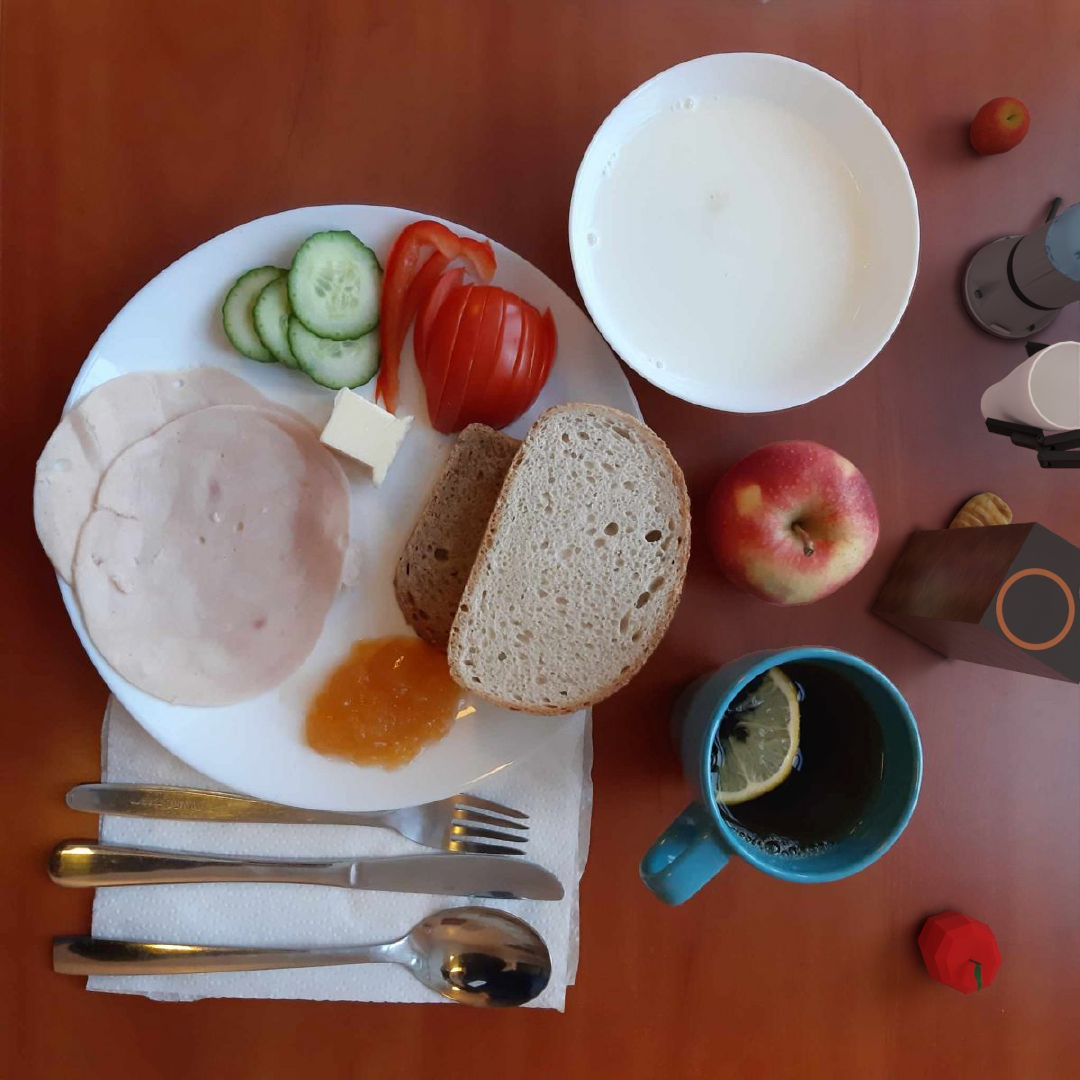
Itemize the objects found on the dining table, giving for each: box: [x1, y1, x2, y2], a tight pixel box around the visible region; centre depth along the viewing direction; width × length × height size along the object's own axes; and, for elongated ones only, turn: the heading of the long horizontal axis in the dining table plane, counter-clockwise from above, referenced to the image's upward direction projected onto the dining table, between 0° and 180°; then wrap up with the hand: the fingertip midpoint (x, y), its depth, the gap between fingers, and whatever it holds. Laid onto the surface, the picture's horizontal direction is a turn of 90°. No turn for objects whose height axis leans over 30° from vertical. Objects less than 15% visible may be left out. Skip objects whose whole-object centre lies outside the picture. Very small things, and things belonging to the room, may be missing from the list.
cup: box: [980, 340, 1080, 433], centre depth 107 cm, size 10×10×14 cm
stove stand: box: [871, 521, 1077, 685], centre depth 115 cm, size 14×14×28 cm
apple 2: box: [969, 95, 1031, 156], centre depth 127 cm, size 8×8×8 cm
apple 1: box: [917, 909, 1003, 995], centre depth 122 cm, size 11×11×10 cm
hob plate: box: [979, 521, 1080, 686], centre depth 101 cm, size 14×14×1 cm
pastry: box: [948, 491, 1013, 529], centre depth 127 cm, size 9×7×4 cm
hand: (1007, 386), depth 108 cm, fingers closed on cup, 10 cm apart
